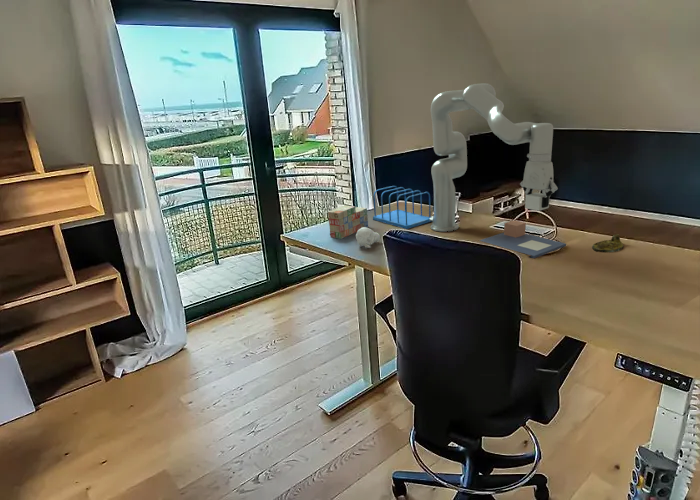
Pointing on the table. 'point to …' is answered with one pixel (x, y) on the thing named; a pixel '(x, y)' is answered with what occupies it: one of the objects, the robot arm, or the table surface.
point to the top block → (514, 228)
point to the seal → (609, 245)
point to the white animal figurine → (366, 237)
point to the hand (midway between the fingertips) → (537, 205)
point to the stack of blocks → (347, 220)
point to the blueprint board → (525, 244)
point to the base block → (534, 201)
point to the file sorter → (399, 216)
